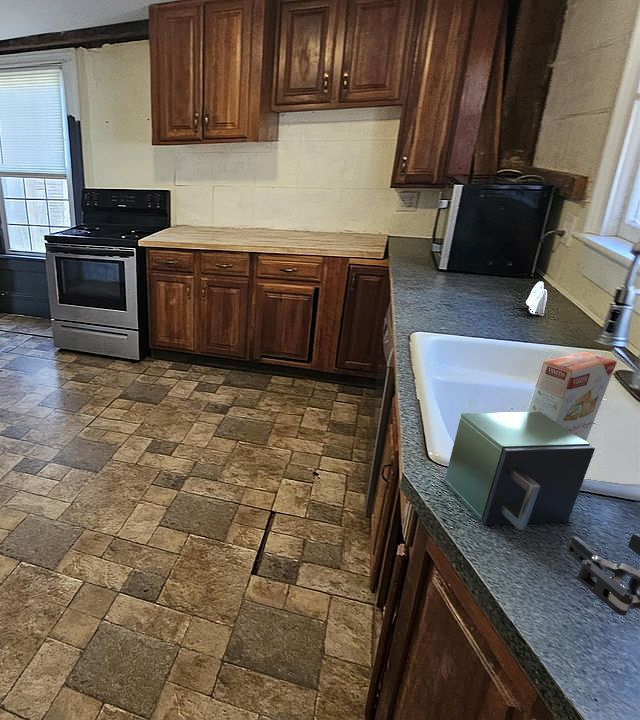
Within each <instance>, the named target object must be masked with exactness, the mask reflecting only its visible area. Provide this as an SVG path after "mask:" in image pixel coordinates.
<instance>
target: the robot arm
mask: <svg viewBox="0 0 640 720" xmlns="http://www.w3.org/2000/svg"><path fill="white" fill-rule="evenodd" d="M628 547H629V549H630V550H632V552H634V553H635V554H637V555H638V556H639V557H640V533H634V534H632V535H631V537H630V539H629V541H628ZM565 548H566V549H565V550H566V551H567V553H568V554H569V555H570V556H571V557H572V558H574V559H575V560H576V561H577V562H578V563H579V564H580V567H579V570H578V572H577V574H576V579H577V580H578V581H579V582H580V583H581V584H582V585H583V586H585V587H586V588H587V589H588V590H589V591H590V592H591V593H593V595H595V596H596V597H597V598H598V599H599V600H601V601H602V602H603V603H604V604H605V605H606V606H607V607H608V608H610V609H611V610H612V611H613V612H614V613H615V614H617V615H619V616H626V615H627V614H628V612H629V610H635V609H638V610H640V569H637V568H635V567H632V566H630V565H628V564H626V563H623V562H621V563H615V562H612V561H610V560H608V559H605V558H603V557H601V555H600V554H599V553H598V552H597V551H595V550H594V548H592V547H590V546H589V545H588V543H586V542H585V541H584V540H582V538H581V537H579V536H576V535H575V536H574V535H572V536H569V538H568V541H567V543H566V547H565ZM603 569H605V570H607V571H609V572H612V573H613V574H614V575H613V576H610V575H608V573H606V572H605V571H603ZM625 576H628V577H630V578H629V580H628V587H626V586H625V585H623V584H622V580H623V578H624V577H625ZM593 579H594V580H593ZM595 580H596V581H595Z"/></svg>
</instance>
